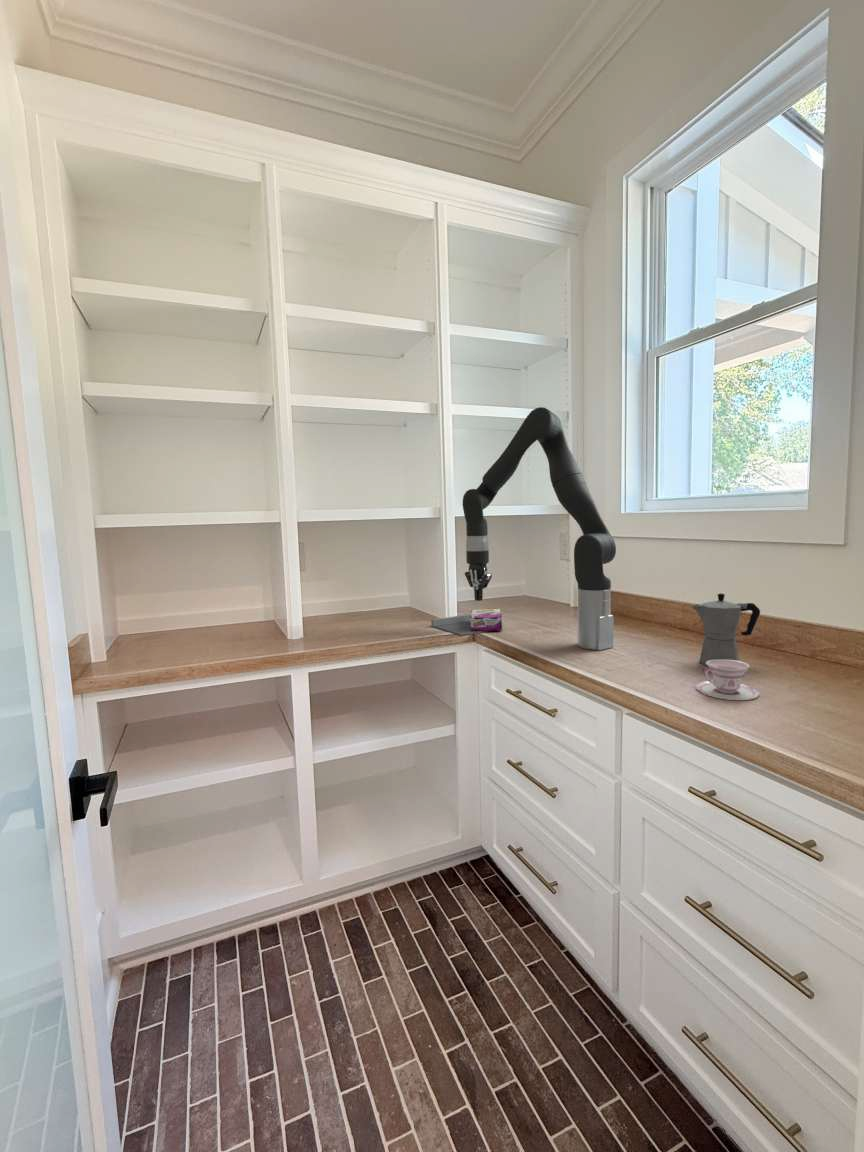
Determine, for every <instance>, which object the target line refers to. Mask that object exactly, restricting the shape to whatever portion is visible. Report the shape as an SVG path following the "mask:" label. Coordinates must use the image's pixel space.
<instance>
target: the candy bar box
mask: <svg viewBox="0 0 864 1152" xmlns="http://www.w3.org/2000/svg"><path fill="white" fill-rule="evenodd" d="M469 615H470V631H488V632H492V631H493V632H497V631H500V632H501V631H503V614H502V609H501V608H487V609H486V608H485V609H484V608H483V609H482V608H481V609H479V608H478V609H476V608H475V609H471V610H470V614H469Z"/></svg>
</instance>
